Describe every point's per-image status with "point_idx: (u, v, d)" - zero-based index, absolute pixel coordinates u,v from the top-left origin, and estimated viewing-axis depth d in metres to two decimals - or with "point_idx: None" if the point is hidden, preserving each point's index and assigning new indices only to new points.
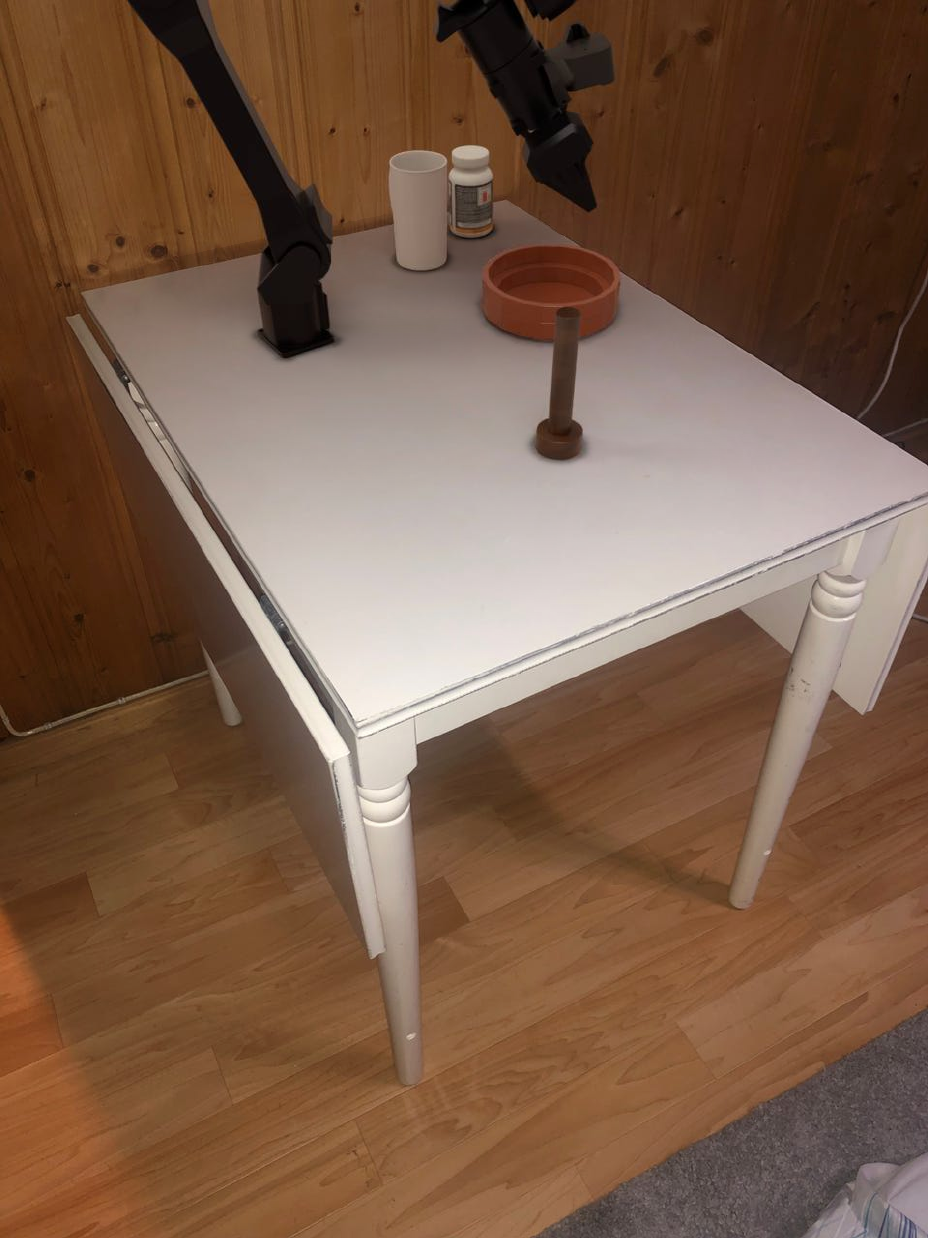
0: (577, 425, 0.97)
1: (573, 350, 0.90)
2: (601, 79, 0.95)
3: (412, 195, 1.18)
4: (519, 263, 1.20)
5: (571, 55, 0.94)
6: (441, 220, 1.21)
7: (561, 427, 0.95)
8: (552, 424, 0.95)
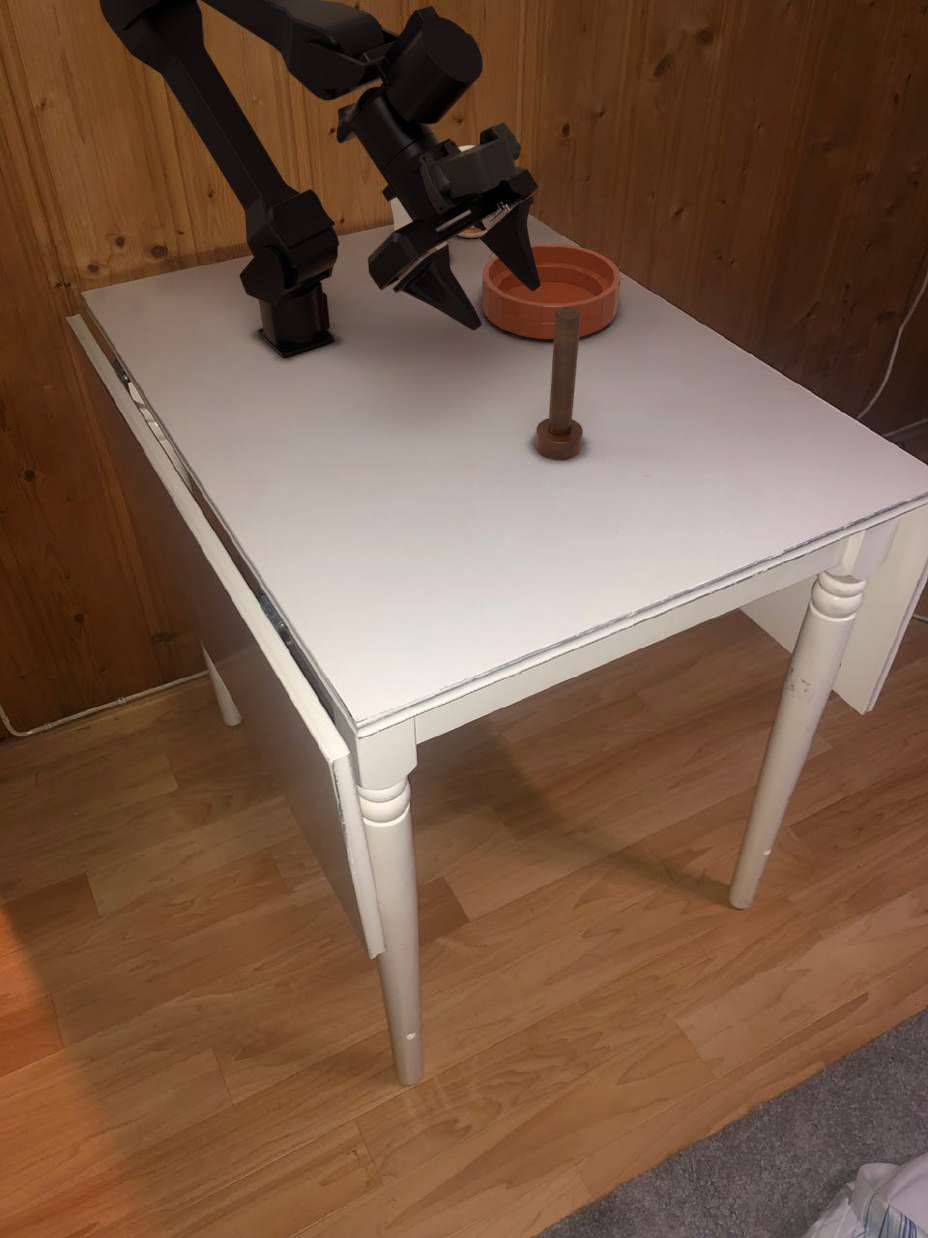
0: (577, 425, 0.97)
1: (573, 350, 0.90)
2: (473, 187, 0.84)
3: None
4: None
5: (448, 159, 0.85)
6: None
7: (561, 427, 0.95)
8: (552, 424, 0.95)
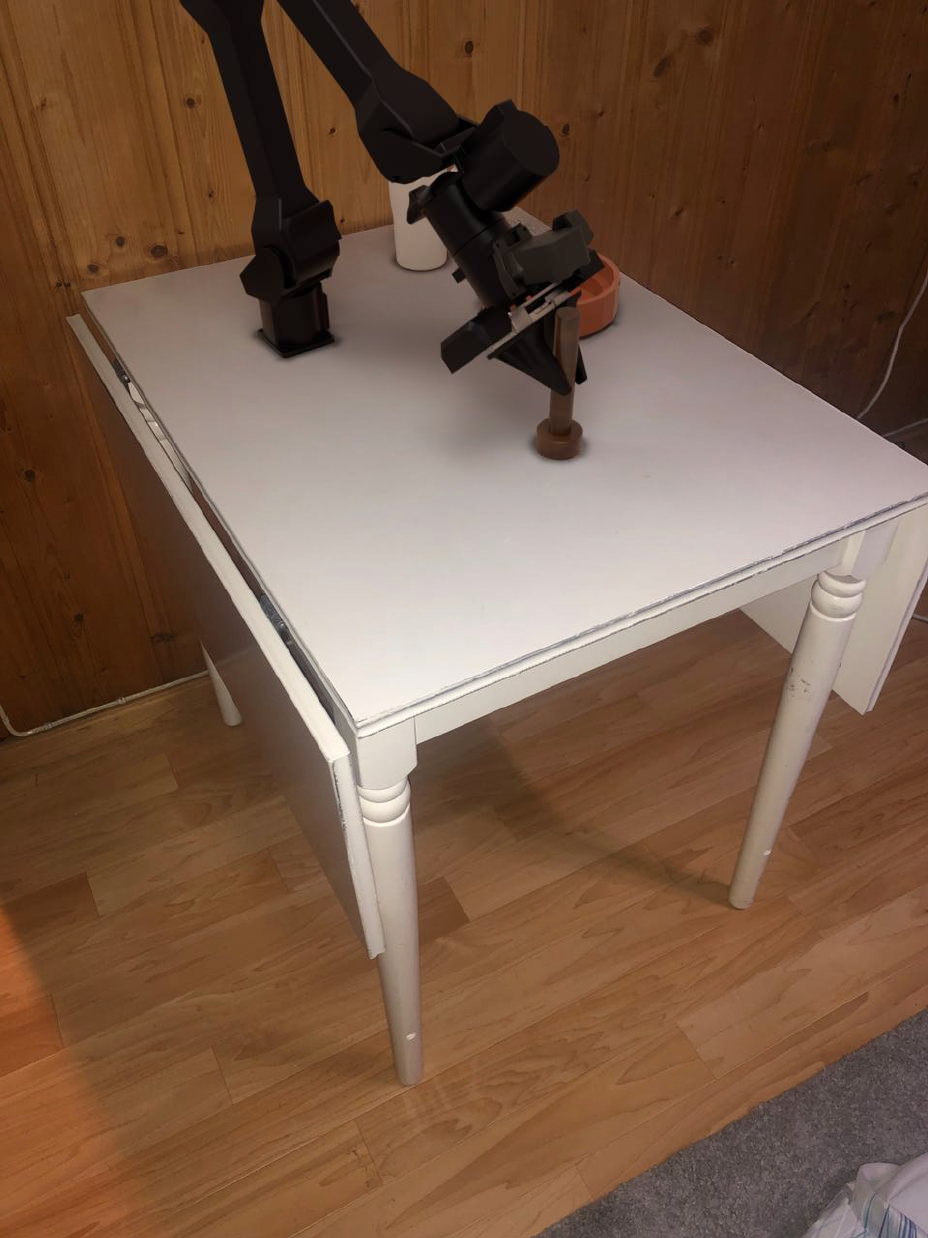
0: (577, 425, 0.97)
1: (573, 350, 0.90)
2: (548, 276, 0.84)
3: None
4: None
5: (522, 247, 0.85)
6: None
7: (561, 427, 0.95)
8: (552, 424, 0.95)
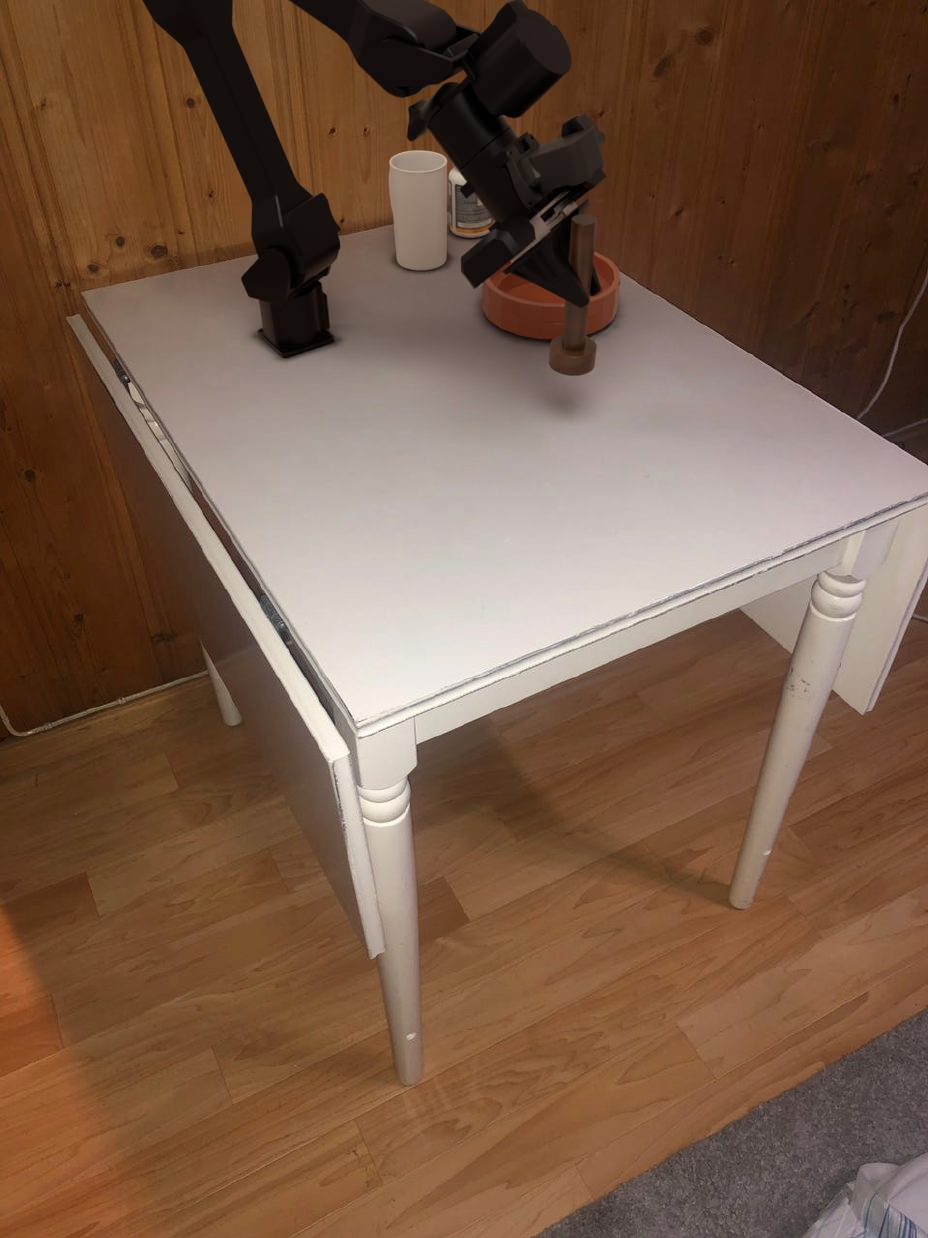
0: (589, 340, 0.96)
1: (590, 258, 0.89)
2: (568, 179, 0.83)
3: (412, 195, 1.18)
4: None
5: (538, 153, 0.84)
6: (441, 220, 1.21)
7: (577, 341, 0.94)
8: (567, 339, 0.94)
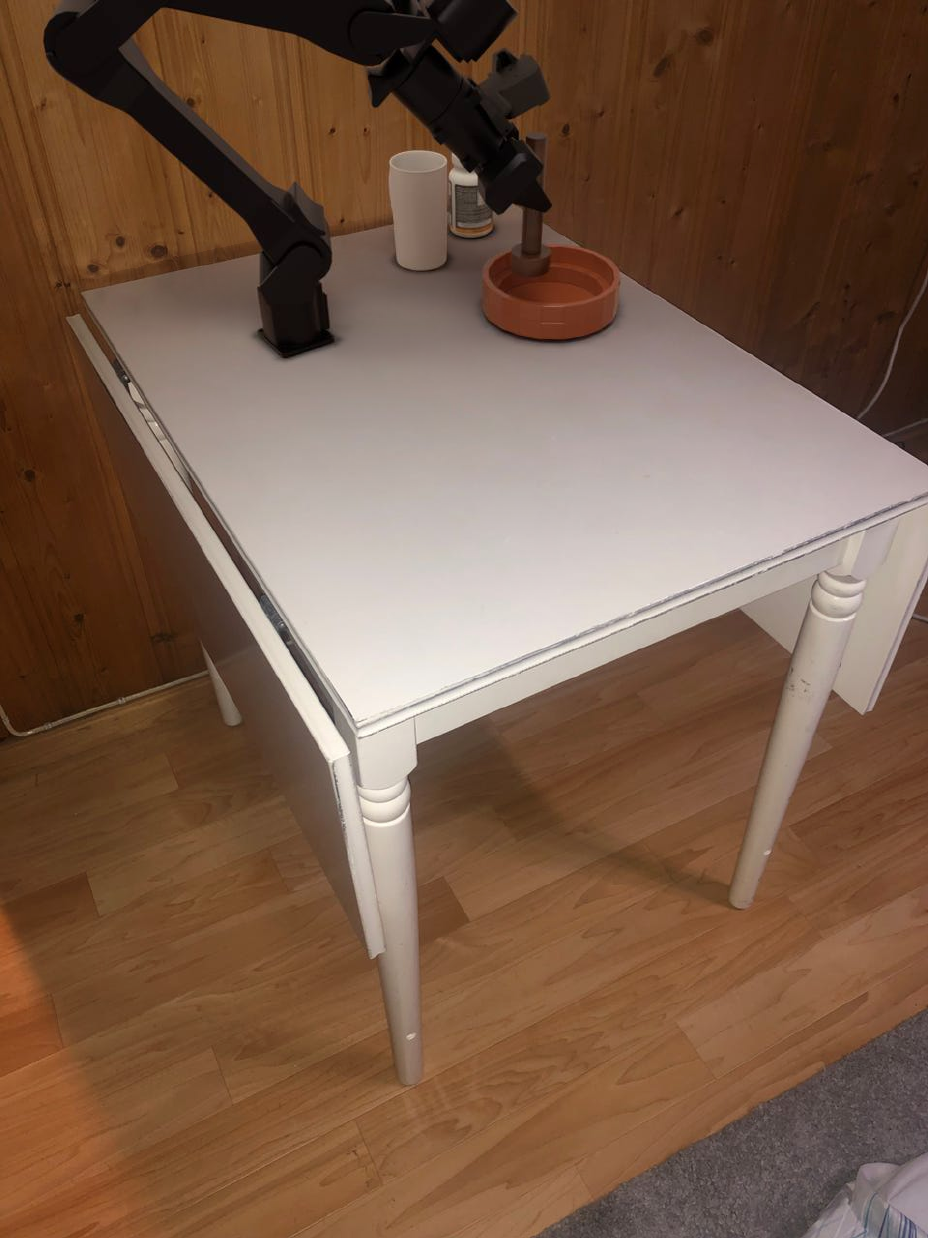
0: None
1: (545, 168, 1.04)
2: (537, 100, 0.97)
3: (412, 195, 1.18)
4: None
5: (503, 85, 0.97)
6: (441, 220, 1.21)
7: (539, 245, 1.09)
8: (532, 245, 1.09)
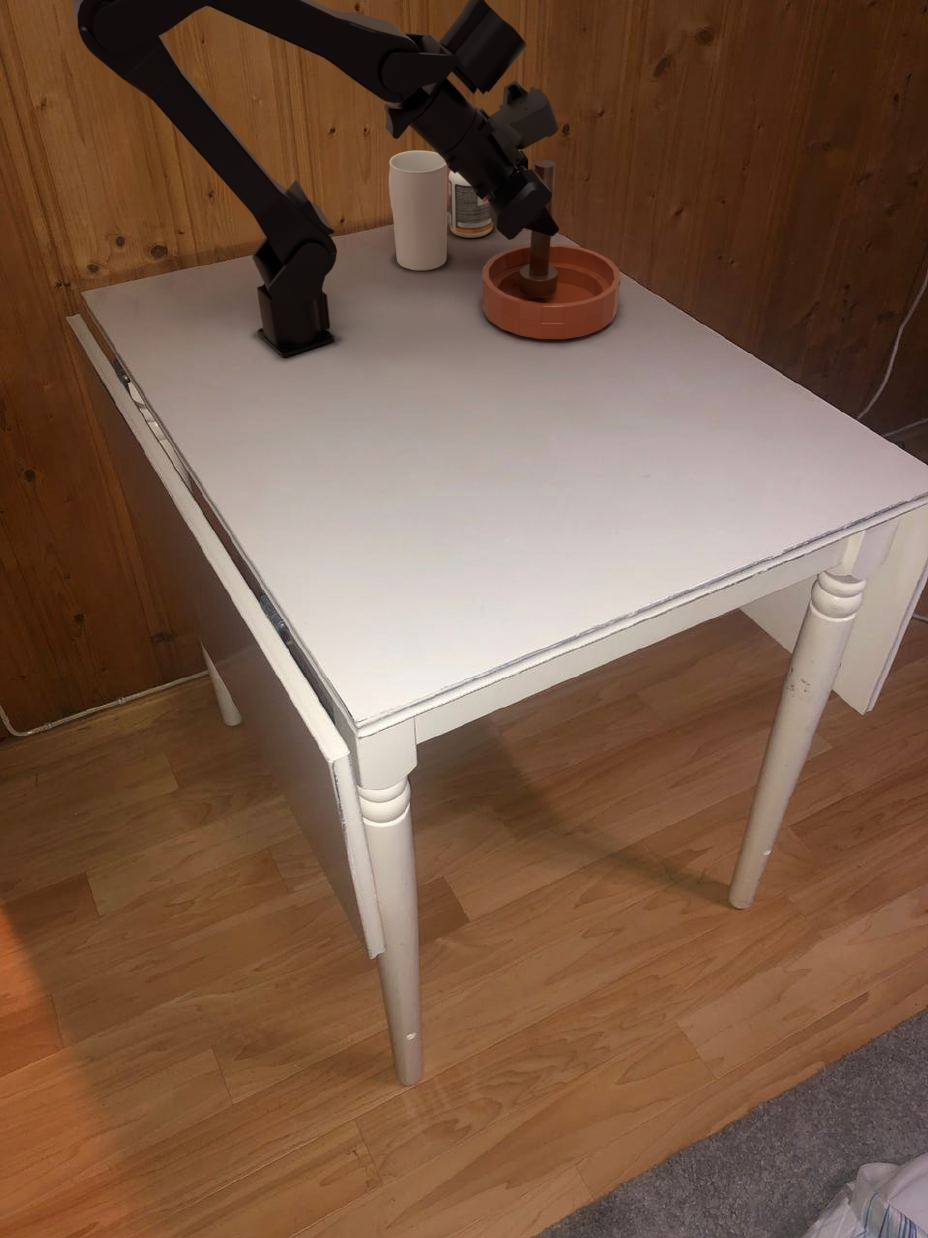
0: None
1: (553, 194, 1.10)
2: (546, 131, 1.03)
3: (412, 195, 1.18)
4: (519, 263, 1.20)
5: (514, 118, 1.02)
6: (441, 220, 1.21)
7: (547, 266, 1.15)
8: (540, 267, 1.14)
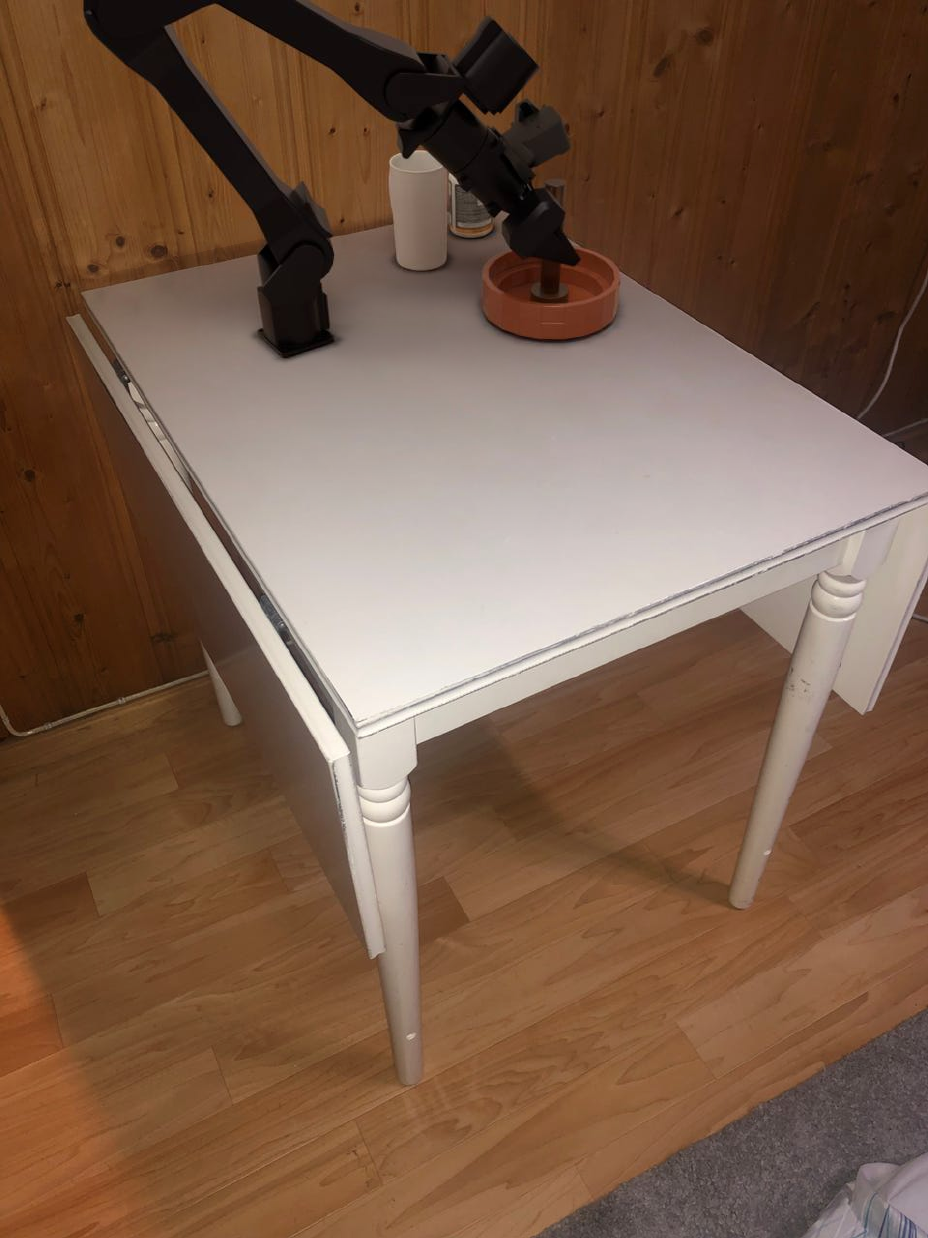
0: None
1: None
2: (558, 149, 1.02)
3: (412, 195, 1.18)
4: (519, 263, 1.20)
5: (526, 136, 1.02)
6: (441, 220, 1.21)
7: (557, 284, 1.14)
8: (551, 285, 1.14)
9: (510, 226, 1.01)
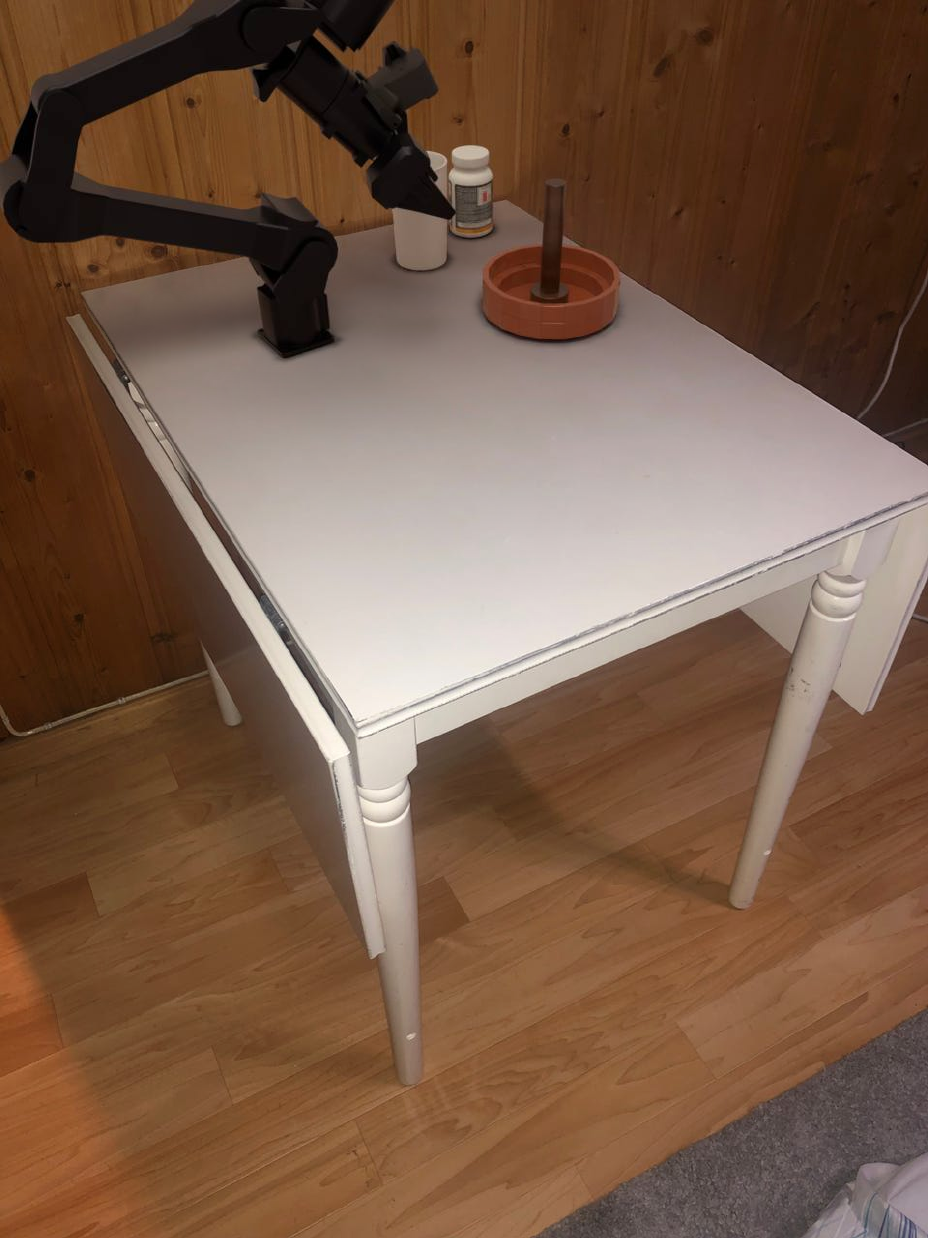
0: None
1: None
2: (425, 93, 0.97)
3: None
4: (519, 263, 1.20)
5: (390, 79, 0.96)
6: (441, 220, 1.21)
7: (557, 284, 1.14)
8: (551, 285, 1.14)
9: (372, 174, 0.96)
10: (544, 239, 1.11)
